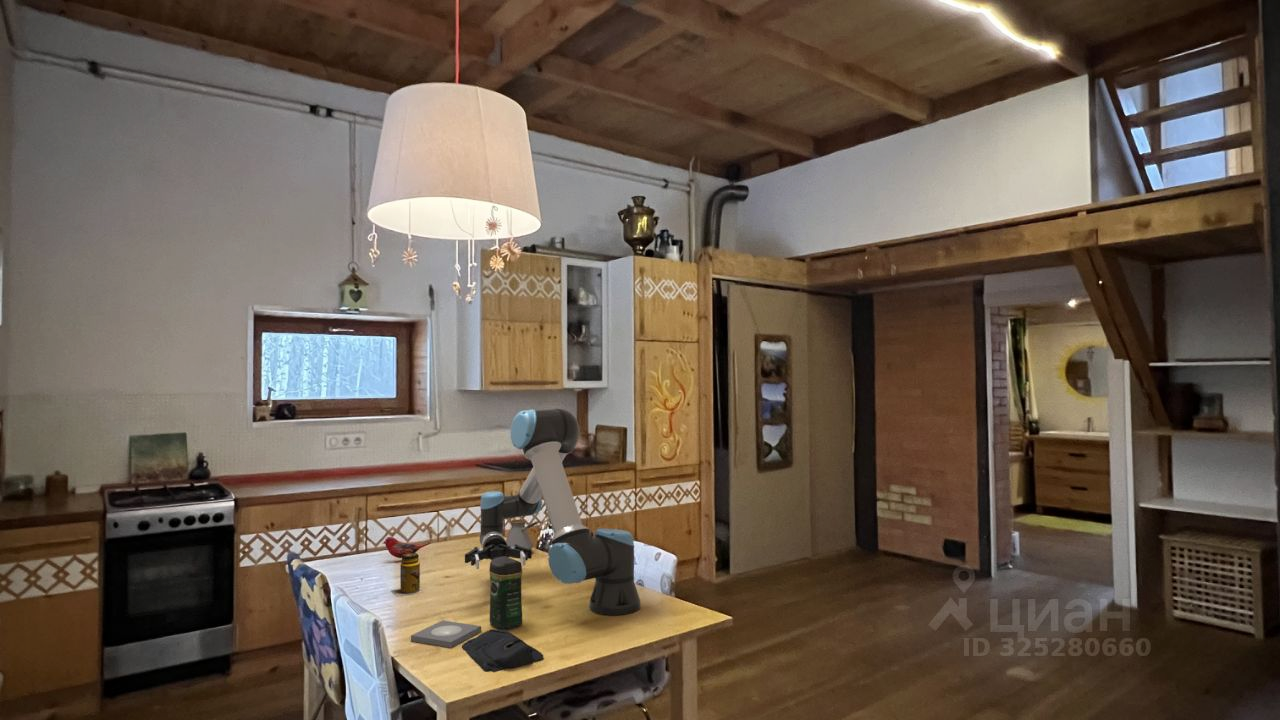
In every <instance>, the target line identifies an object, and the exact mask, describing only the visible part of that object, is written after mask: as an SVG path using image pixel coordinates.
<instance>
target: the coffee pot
mask: <svg viewBox="0 0 1280 720" xmlns="http://www.w3.org/2000/svg"><path fill="white" fill-rule="evenodd" d="M526 523H527V520H526V519H513V520H510V521H509V524H510V525H511V527H510V530H509V533H508V535H507V536H506V539H505V541H506V543H507V546H510V547H513V546H514V545H515V544H517V545H518V546H520V547H524V548H527V549H530V550H533V547H534V544H533V543H532V540H531V538H530V535H529V533H528V531H527V530H528V529H530V528H533V527H535V526H538V524H540V525H539V527H541V526H542V522H540V521H539V520H537V521H534V522H532V523H530V524H528V525H527V526H525V525H526Z"/></svg>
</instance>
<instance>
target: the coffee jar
mask: <svg viewBox="0 0 1280 720" xmlns="http://www.w3.org/2000/svg"><path fill="white" fill-rule="evenodd" d="M488 572H489V579H490V590H489V591H490V595H489V596H490V599H489V623H490V624H491V625H492V626H494V627H495V628H498V629H499V630H506V629H511V630H512V629H516V628H517V627H519V626H521V625H522V624H523V604H522V601H523V600H522V577H523V565H522V563H521V561H520V560H519V561H518V560H516V559H515V558H514V559H513V558H512V557H507V556H503V557H496V558H493V560H490V562H489V571H488Z"/></svg>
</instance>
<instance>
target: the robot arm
mask: <svg viewBox="0 0 1280 720" xmlns="http://www.w3.org/2000/svg"><path fill="white" fill-rule="evenodd" d="M580 431H581V430H580V425H579V421H578V420H577V418H576V416H575V415H574V414H573V413H571V411H569V410H566V409H563V408H548V409H544V408H543V409H533V408H532V409H528V410H521V411H519V412H518V413H517V414H516V415H515V416H514V418H513V419H512V422H511V427H510V440H511V443H512V445H513V446H514V447H515V448H516V449H518V450H522V452H523V455H524V457H525V459H527V460H528V461H529V460H530V461H531V464H532V466H533V467H532V468H531V470H530V472H529V474H528V475H527V477H526V479H525V481H524V482H523V484H522V485H521V487H520V489H519V491H518V493H517V494H515V495H508V496H504V493H503V492H501V491H487V492H484V493H482V494H481V496H480V506H479V507H480V533H479V543H480V545H481V547H482V548H479V547H478V546H475V547H473V549H471V550H469V551H468V552H466V553H465V554H464V564H468V563H470V566H475V569H476V570H480V561H483V560H490V561H492V560H493V558H496V557H503V556H507V557H508V558H512V559H513V558H514V559H520V560H519V562H521V564H522V567H524V566H525V567H526V565H527V563H526V561H528V559H530V560H531V559H533V553H532V552H533V551H532V550H533V549H532V550H530V549H527V548H524V547H520V546H518V545H517V544H515V545H514V546H513V547H510V546H507V543H506V539H505V537H504V522H505V520H506V519H512V518H513V519H514V518H520V517H529V516H532V515H536V514H537V515H538V514H539V513H540V512H541V510H542V509H543V508H542V506H543V502H544V506H545V509H546V512H547V515H548V519H549V522H550V526H551V528H552V533H553V537H552V539H551V541H550V542H551V547H550V548H549V550H548V555H547V556H548V557H547V558H548V559H547V561H548V566H549V569H550V571H551V573H552V575H553V576H554V577H555V579H557V580H558V581H560V582H561V583H563V584H567V585H569V584H579V583H581V582H584V581H587V580H592V579H594V580H595V582H594V586H593V589H592V591H591V595H590V598H589V609H590V611H591V612H593V613H596V614H599V615H608V616H621V615H627V614H632V613H634V612H637V611H639V610H640V609H641V599H640V595H639V592H638V589H637V586H636V583H635V544H634V535H633V534H632V533H631V531H627V530H623V529H617V528H597V529H596V530H594V536H592V533H591V531H590V527H587V526H585V525H583V523H582V522H583V521H582V520H581V516H580V513H579V511H578V507H577V504H576V501H575V497H574V495H573V492H572V488H571V487H570V484H569V480H568V478H567V474H566V470H565V468H564V466H563V461H564V459H565V458H566V456H567V455H568V454H571V453H572V452H573V451H574V449H575V447H576V446H577V444H578V441H579V439H580Z"/></svg>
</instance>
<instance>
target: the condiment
mask: <svg viewBox="0 0 1280 720" xmlns="http://www.w3.org/2000/svg"><path fill="white" fill-rule="evenodd" d="M419 560H420V559H419V554H418V553H417V552H416V553H406V554H403V555H402V558H401V561H402V562H400V567H399V570H400V584H399V586H400V588H397V589H391V592H392V593H393V594H394V595H395V596H396V597H401V596H407V595H414V594H420V593H423V592H424V591H423V589H421V583H420V582H421V580H420V579H421V577H420V576H421V571H420V570H421V568H420V567H421V565H420V561H419Z"/></svg>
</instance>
